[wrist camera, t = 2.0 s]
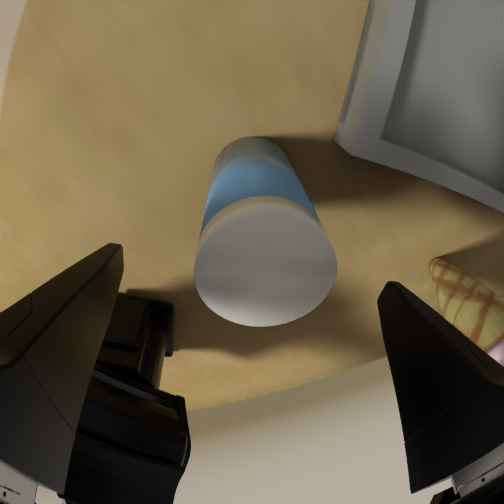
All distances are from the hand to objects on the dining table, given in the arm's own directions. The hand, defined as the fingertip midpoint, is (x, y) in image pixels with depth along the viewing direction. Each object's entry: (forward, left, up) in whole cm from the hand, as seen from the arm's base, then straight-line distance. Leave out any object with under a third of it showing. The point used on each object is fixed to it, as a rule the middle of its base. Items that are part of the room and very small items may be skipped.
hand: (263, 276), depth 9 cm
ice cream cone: (-4, -16, -9) cm, 19 cm away
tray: (+12, -12, -9) cm, 19 cm away
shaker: (0, 0, -9) cm, 9 cm away
